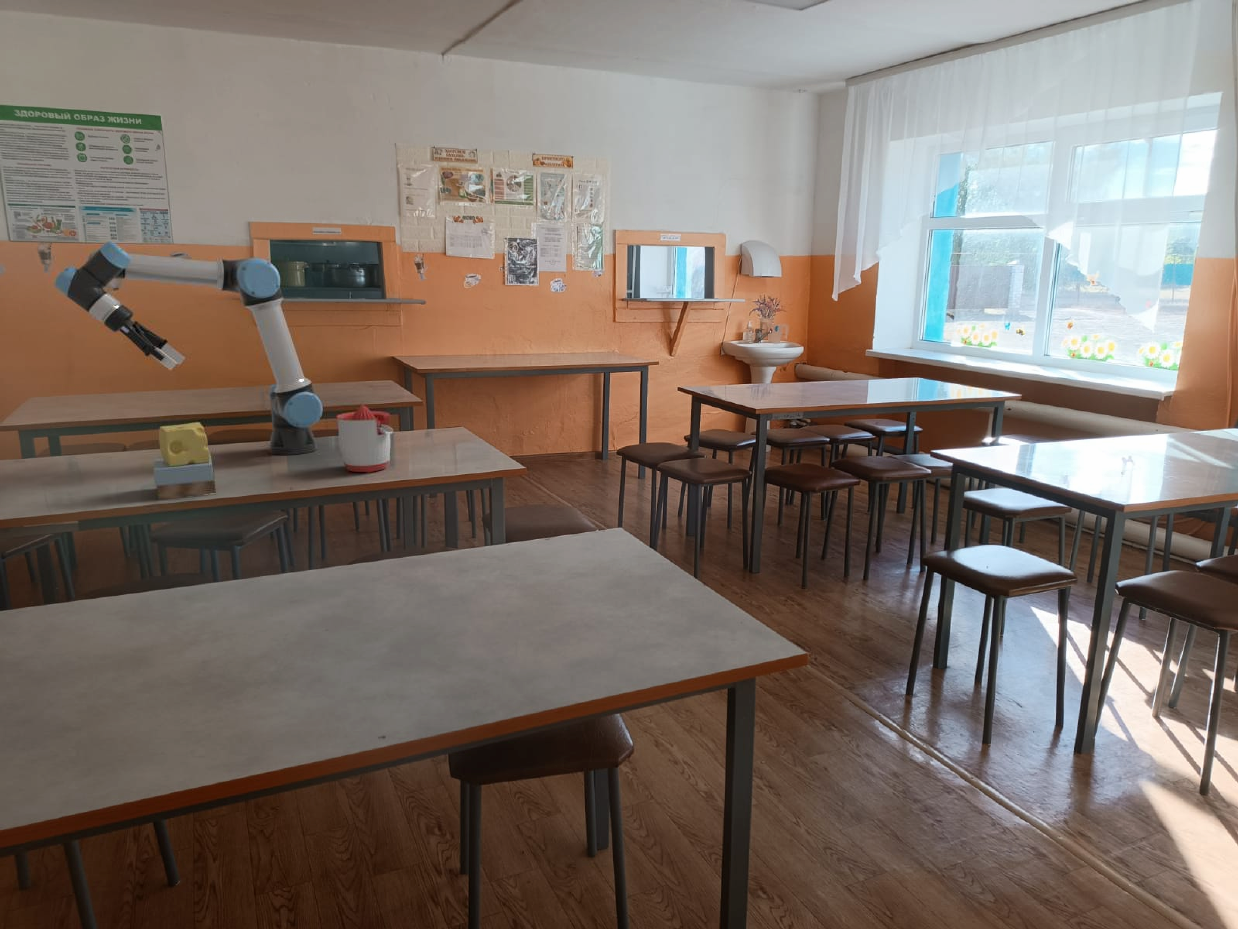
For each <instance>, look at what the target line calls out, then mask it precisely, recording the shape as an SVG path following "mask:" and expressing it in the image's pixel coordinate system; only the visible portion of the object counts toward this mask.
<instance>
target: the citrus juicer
mask: <svg viewBox="0 0 1238 929" xmlns="http://www.w3.org/2000/svg"><path fill="white" fill-rule="evenodd" d="M336 419H337V427H338V430H337V431H338V444H339V450H340V453H341V454H340V455H341V458H342V460H343V464H344V465H345V468H346V470H347V471H349V472H353V473H355V472H356V473H368V474H369V473H373V472H376V471H381V470H383V469H386V468H387V466H388V463H389V458H390V454H391V453H390V452H391V435H392V434H393V433H394V430H393V428H392V427H391V426H390V413H389V412H385V411H376V410H374V411H372V410H370V409H369V408H368V407H367V406H365V405H364V404H362V405H360V406H359V407H358V408H357V409H356V410H355V411H351V412H345V413H341V414H337V415H336Z"/></svg>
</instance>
